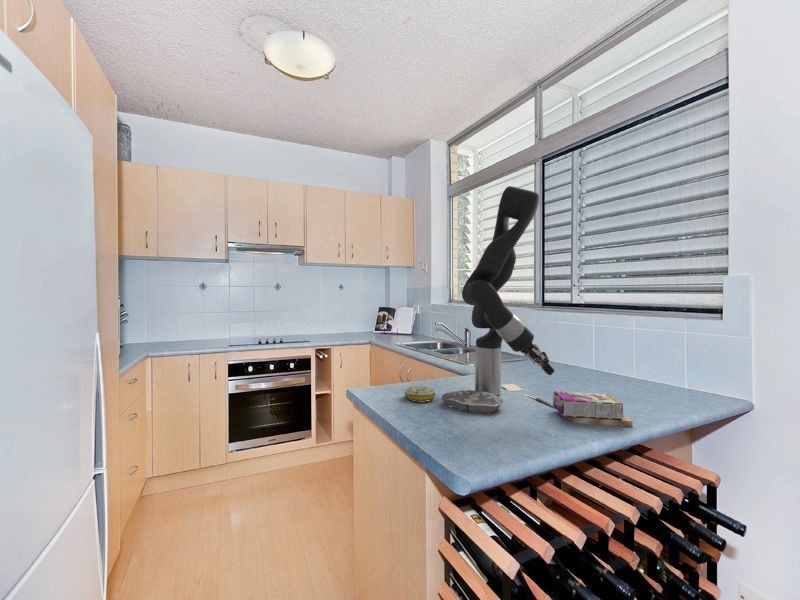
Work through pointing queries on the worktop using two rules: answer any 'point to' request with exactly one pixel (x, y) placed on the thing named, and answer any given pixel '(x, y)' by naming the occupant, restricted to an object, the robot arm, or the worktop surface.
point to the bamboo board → (602, 421)
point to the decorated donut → (419, 393)
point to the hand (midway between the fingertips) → (551, 372)
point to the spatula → (515, 388)
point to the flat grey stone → (472, 401)
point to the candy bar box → (587, 405)
